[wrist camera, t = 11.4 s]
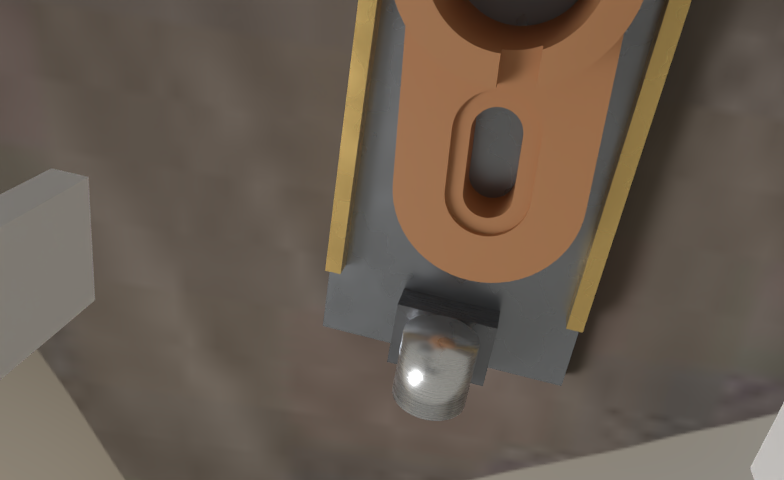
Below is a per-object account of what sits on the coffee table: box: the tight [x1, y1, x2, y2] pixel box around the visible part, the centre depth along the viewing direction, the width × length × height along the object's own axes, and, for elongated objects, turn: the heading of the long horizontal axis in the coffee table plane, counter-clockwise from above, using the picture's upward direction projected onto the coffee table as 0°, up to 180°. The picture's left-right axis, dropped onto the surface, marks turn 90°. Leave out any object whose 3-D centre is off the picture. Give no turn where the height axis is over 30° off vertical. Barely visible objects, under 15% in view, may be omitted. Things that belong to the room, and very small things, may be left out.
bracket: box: [393, 0, 643, 283], centre depth 27 cm, size 18×8×7 cm, turn 176°
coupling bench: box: [323, 0, 692, 421], centre depth 29 cm, size 29×13×6 cm, turn 171°
